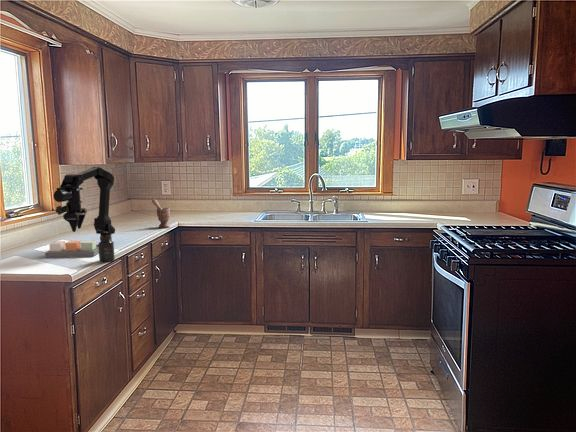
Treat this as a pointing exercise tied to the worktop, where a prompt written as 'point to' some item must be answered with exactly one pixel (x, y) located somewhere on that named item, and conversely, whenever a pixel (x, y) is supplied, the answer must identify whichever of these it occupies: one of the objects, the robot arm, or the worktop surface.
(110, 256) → the supplement bottle
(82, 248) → the sage button
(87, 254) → the console
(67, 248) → the terracotta button
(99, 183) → the robot arm
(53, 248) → the cream button
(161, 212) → the mortar and pestle
